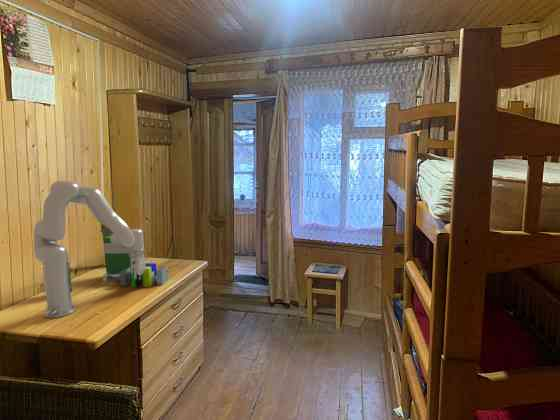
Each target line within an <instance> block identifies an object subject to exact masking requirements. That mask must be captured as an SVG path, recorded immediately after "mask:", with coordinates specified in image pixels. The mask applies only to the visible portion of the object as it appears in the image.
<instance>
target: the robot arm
mask: <svg viewBox="0 0 560 420" xmlns="http://www.w3.org/2000/svg"><path fill="white" fill-rule="evenodd" d="M49 191H50V193H49V194H48V195H47V197H46V198H45V201H44V203H43V209H42V210H43V212H42V218H41V219H39V220H38V221H37V222H36V224H35V226H34V228H33V229H34V230H33V253H34V256H35V258H36V259H37V260H38V261H39V262H42V263H43V282H44V289H45V297H46V305H47V306H46V310H45V311H44V312H43V314H42V316H43V317H44V318H45V317H46V318H50V319H51V318H52V319H55V318H61V317H65V316H68V315H71V314H73V313H75V311H76V310H77V307H76V305H74V304H73V303H72V296H71V293H72V292H71V293H70V283H69V275H68V262H69V254H68V253H69V252H68V250H67V248H65V246H63V245H61V244H58V241H60V240H62V239H63V238H64V236H65V235H66V209H67V207H68V205H69V203H70V202H71V203H76V204H82V205H86V207H88V209H89V211H90V212H91V213H92V215H93V216H94V217H95V219H96V221H97V222H98V223H99V224H100V225H101V224H102V225H104V226H105V227H107V228H109V229H110V230H111V231H112V232H113V234H112V235H111V237H110V240H111V242H112V243H113V244H114V245H116V246H120V247H124V248H129V257H131V275H132V276H134V279H135V282H136V286H135V288H142V287H144V286H143V280H142V274H143V273H144V272H145V268H146V264H145V263H146V259H145V245H144V232H143V229H142V228H141V229H140V228H133V229H131V228H130V226H128V225H127V223H126V222H125V221H124V220H123V219H122V218H121V217H120V215H118V214H117V213H116V212H115V211H114V209H113V208H112V206H111V204H109V202H108V200H107V199H106V198H105V196H104V195H103V193H102V192H101V191H100V189H99V188H96V187H93V186H92V187H91V186H83V185H78V184H77V183H76V182H74V181H69V180H58V181H55V182H53V183H52V184H51V185H50V188H49Z"/></svg>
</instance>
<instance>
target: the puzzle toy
mask: <svg viewBox="0 0 560 420" xmlns="http://www.w3.org/2000/svg"><path fill="white" fill-rule="evenodd" d="M145 264H146V268H145V272H144V273H143V274H142V280H143V286H142V287H151V286H153V285H154V284H155V283H157V275H156V270H157V263H155V262H154V263H153V262H152V263H149V262H148V263H146V262H145ZM131 280H132V281H131V286H132V287H136V282H135V279H134V276H132V275H131Z"/></svg>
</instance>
